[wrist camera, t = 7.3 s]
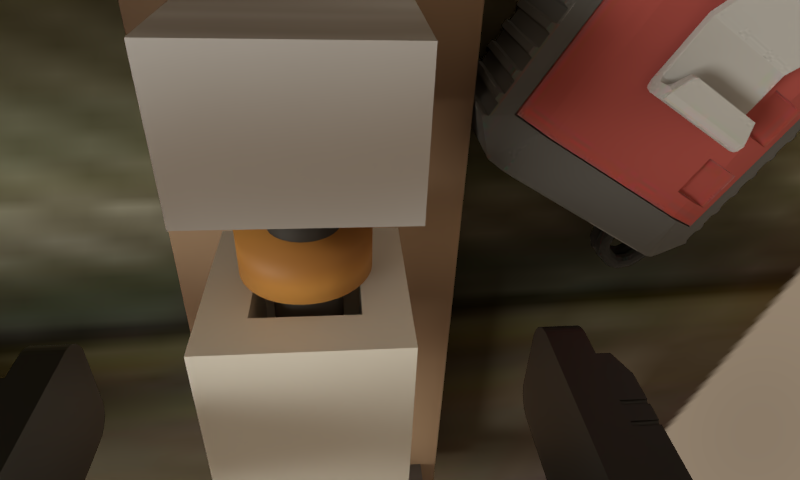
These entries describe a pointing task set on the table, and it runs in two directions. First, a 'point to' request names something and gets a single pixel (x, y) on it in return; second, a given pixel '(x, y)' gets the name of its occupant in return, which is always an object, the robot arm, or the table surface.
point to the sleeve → (306, 377)
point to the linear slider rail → (314, 151)
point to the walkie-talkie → (640, 109)
